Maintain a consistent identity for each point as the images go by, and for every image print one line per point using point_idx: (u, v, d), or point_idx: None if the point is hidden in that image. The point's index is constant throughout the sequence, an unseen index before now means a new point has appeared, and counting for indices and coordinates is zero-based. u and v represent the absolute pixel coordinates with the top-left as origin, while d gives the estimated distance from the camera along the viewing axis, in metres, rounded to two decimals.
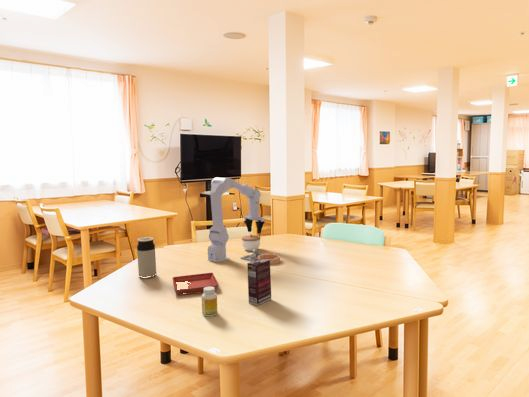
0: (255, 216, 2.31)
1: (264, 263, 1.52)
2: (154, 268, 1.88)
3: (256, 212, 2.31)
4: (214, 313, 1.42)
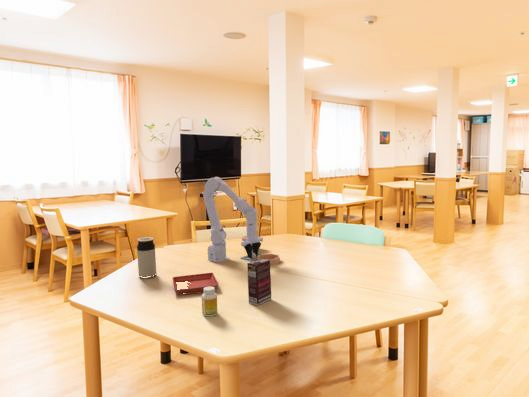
0: (247, 239, 2.11)
1: (264, 263, 1.52)
2: (154, 268, 1.88)
3: (247, 235, 2.10)
4: (214, 313, 1.42)
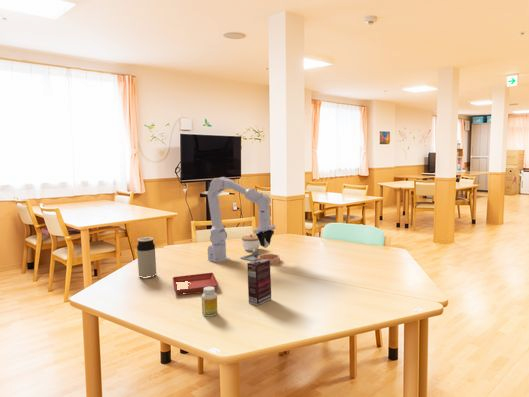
0: (259, 226, 2.05)
1: (264, 263, 1.52)
2: (154, 268, 1.88)
3: (259, 222, 2.04)
4: (214, 313, 1.42)
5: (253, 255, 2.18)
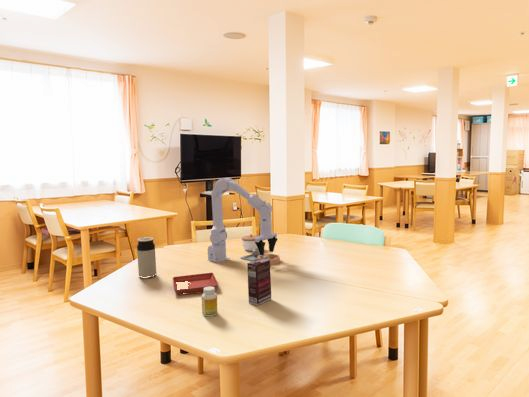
0: (261, 234, 2.05)
1: (264, 263, 1.52)
2: (154, 268, 1.88)
3: (261, 230, 2.04)
4: (214, 313, 1.42)
5: (253, 255, 2.18)
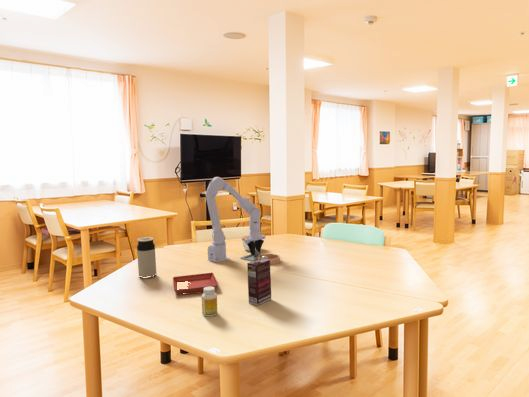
0: (250, 236, 2.17)
1: (264, 263, 1.52)
2: (154, 268, 1.88)
3: (250, 232, 2.16)
4: (214, 313, 1.42)
5: (253, 255, 2.18)
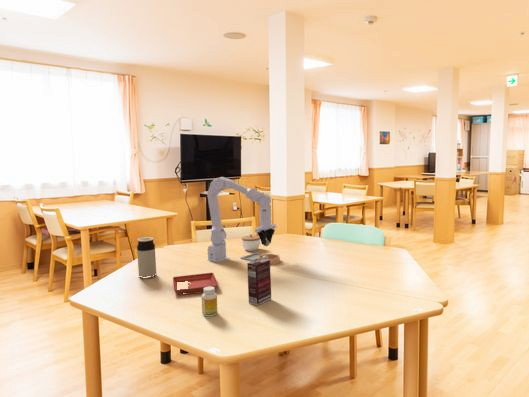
0: (260, 225, 2.08)
1: (264, 263, 1.52)
2: (154, 268, 1.88)
3: (261, 221, 2.08)
4: (214, 313, 1.42)
5: (264, 245, 2.10)
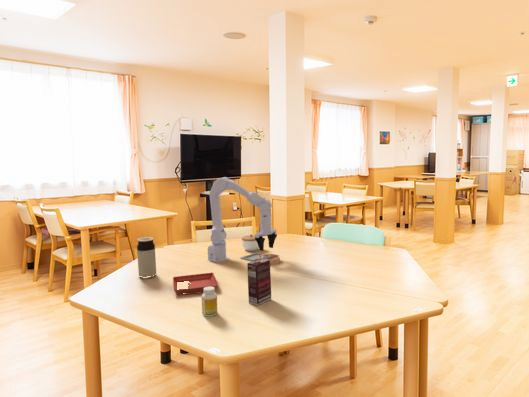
0: (260, 230, 2.08)
1: (264, 263, 1.52)
2: (154, 268, 1.88)
3: (261, 226, 2.08)
4: (214, 313, 1.42)
5: None
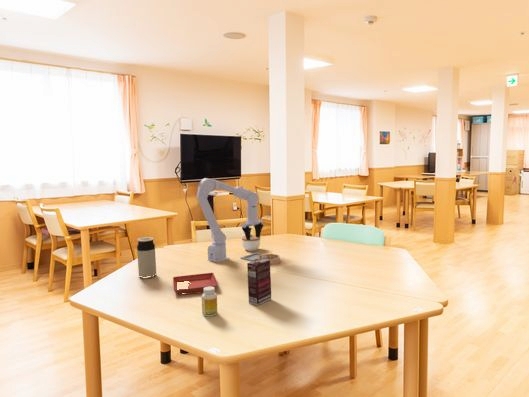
0: (247, 221, 2.17)
1: (264, 263, 1.52)
2: (154, 268, 1.88)
3: (248, 217, 2.17)
4: (214, 313, 1.42)
5: None
